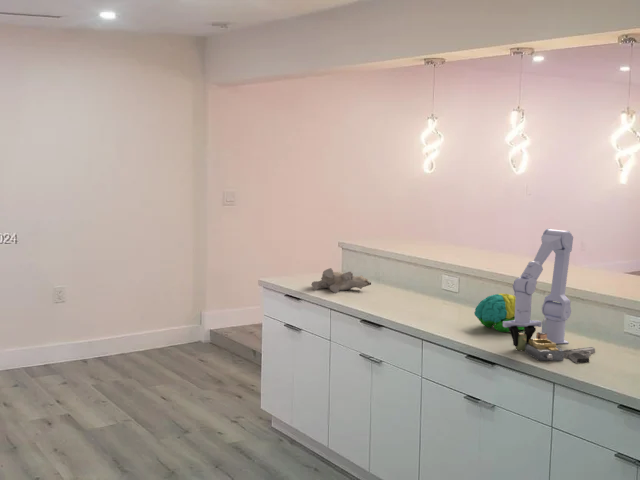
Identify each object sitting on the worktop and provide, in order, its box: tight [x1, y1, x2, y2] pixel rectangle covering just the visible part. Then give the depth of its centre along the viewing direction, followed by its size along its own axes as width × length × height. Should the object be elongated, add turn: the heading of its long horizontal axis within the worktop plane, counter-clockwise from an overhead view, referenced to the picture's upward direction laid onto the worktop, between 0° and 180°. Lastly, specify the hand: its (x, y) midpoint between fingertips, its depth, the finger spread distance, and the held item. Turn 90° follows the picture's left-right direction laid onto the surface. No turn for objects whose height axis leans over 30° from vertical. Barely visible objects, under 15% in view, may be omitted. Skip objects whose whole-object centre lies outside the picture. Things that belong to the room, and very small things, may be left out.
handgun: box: [562, 346, 596, 364], centre depth 269 cm, size 18×2×12 cm
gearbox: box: [524, 338, 564, 362], centre depth 268 cm, size 14×9×5 cm, turn 9°
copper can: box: [535, 331, 547, 339], centre depth 280 cm, size 4×4×6 cm
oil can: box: [515, 332, 527, 352], centre depth 276 cm, size 5×4×6 cm
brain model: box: [474, 293, 525, 333], centre depth 309 cm, size 24×19×15 cm
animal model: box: [311, 268, 372, 294], centre depth 387 cm, size 14×28×17 cm
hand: (520, 345), depth 277 cm, fingers closed on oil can, 4 cm apart
